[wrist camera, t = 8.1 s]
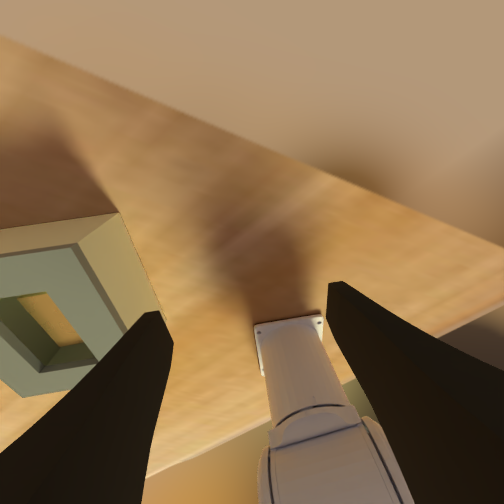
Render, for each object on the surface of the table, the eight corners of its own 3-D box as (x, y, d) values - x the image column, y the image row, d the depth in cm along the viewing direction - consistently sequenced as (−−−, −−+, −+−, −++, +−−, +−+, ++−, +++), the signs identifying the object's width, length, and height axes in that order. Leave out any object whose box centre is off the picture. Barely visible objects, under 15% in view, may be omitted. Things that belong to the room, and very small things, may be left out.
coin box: (166, 320, 23) (148, 376, 17) (70, 336, 22) (22, 397, 17) (119, 212, 17) (70, 247, 12) (-13, 231, 16) (-125, 276, 11)
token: (114, 305, 20) (91, 341, 17) (88, 310, 20) (59, 347, 17) (87, 261, 18) (54, 292, 14) (57, 266, 18) (16, 298, 14)
